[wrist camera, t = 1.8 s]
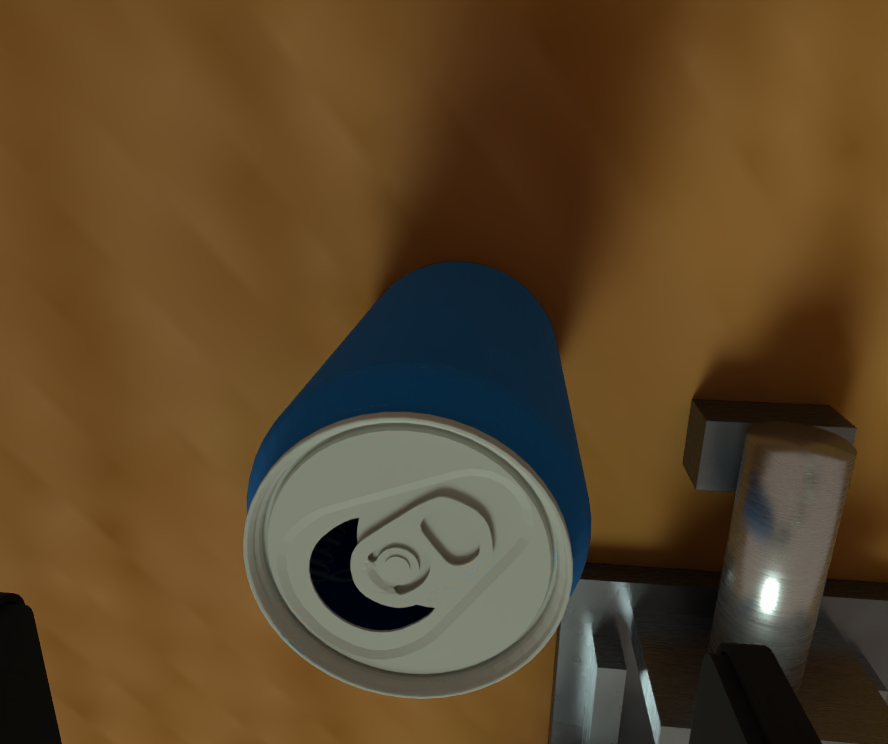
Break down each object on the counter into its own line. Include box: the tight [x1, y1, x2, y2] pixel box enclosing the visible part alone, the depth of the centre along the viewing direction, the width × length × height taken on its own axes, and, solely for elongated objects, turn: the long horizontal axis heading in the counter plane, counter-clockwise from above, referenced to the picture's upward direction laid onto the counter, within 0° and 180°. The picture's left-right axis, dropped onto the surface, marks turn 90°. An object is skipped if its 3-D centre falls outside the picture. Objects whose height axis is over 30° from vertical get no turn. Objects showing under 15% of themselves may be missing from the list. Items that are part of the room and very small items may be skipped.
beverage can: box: [243, 262, 591, 699], centre depth 17 cm, size 6×6×12 cm
